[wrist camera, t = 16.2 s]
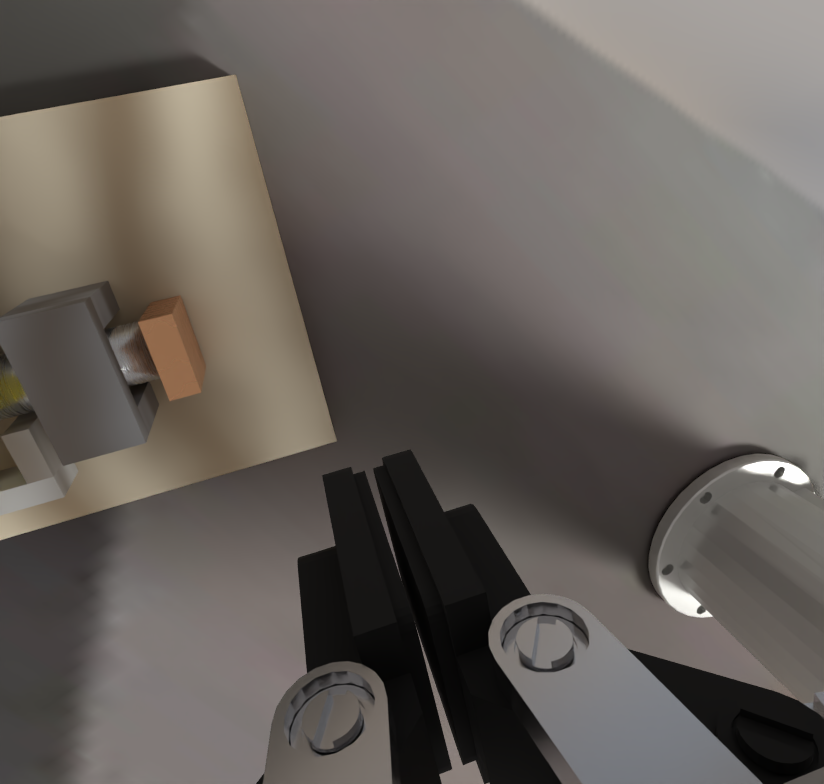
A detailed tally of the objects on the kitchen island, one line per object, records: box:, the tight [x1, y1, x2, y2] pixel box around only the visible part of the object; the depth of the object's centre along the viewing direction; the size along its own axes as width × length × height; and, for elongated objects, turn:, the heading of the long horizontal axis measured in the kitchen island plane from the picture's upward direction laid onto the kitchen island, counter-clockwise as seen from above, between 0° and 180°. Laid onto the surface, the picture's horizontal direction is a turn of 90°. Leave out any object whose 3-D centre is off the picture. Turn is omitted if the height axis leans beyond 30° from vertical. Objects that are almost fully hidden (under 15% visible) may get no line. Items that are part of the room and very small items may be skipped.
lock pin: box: [0, 295, 206, 420], centre depth 22 cm, size 8×3×3 cm, turn 99°
